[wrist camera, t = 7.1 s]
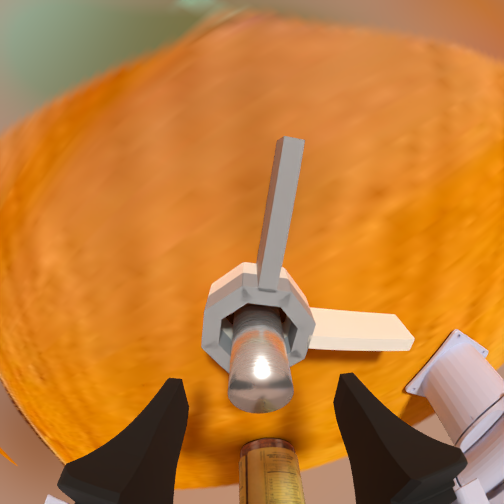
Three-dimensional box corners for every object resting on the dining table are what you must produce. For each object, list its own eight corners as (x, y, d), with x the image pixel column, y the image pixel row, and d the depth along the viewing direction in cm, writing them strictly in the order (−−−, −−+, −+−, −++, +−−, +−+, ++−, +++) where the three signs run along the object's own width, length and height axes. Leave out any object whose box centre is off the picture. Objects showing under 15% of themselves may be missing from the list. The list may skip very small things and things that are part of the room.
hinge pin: (286, 299, 19) (306, 382, 11) (265, 332, 20) (273, 418, 12) (246, 282, 19) (245, 363, 11) (227, 317, 19) (218, 403, 12)
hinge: (206, 338, 20) (199, 369, 17) (231, 133, 16) (227, 127, 12) (378, 351, 21) (394, 378, 18) (433, 182, 16) (463, 189, 13)
